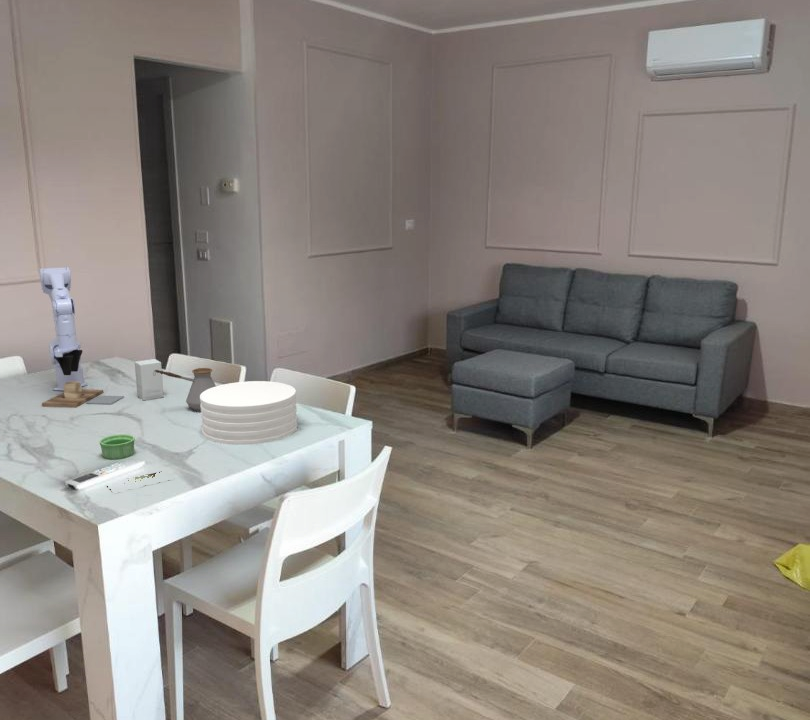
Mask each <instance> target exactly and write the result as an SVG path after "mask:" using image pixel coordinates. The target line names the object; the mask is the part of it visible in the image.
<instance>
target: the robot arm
mask: <svg viewBox="0 0 810 720" xmlns="http://www.w3.org/2000/svg"><path fill="white" fill-rule="evenodd" d="M71 277H72V276H71V270H70V268H69V267H68V266H65V267H47V268H45V267H44V268H43V267H41V268H39V280H40V285H41V290H42V292H43V294H46V295H48V296H49V299H50V301H51V308H52V314H53V322H54V331H55V336H56V337H55V338H54V339H53V340H52V341H51V342H50V343H49V358H50V364H52V365H54V366H55V373H56V381H57V382H56V384H57V387H55V388H53V389H52V391H63V392H64V386H63V384H65V383H67V382H69V381H75V382H81V388H82V387H85V386H86V385H88V384H87V383H86V382H85V376H84V368H83V366H82V364H81V363H80V362H81V361H82V357H81V356H82V354H83V350H82V349H81V348H82V346H81V342H79V341H78V340H77V331H76V322H75V315H76V306H75V301H74V298H73V297H72V296H71V294H70V291H71V288H72V278H71Z"/></svg>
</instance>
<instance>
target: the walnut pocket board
mask: <svg viewBox="0 0 810 720" xmlns="http://www.w3.org/2000/svg"><path fill="white" fill-rule="evenodd" d="M81 390H82V396H81V397H79V398H77V399H70V398H65V395H64V392H62V393H59V394H58V395H56V396H53V397H52V398H49V399H47V400H46V401H43V402H41V407H42V406H43V407H46V408H48V407H49V408H78V407H80V406H82V405H84V404H86V402H88V401H90V400H92V399H94V398H96V397H98V396H102V395H103V394H104V389H91V388H90V389H86V388H84V389H83V388H81ZM43 407H42V408H43Z"/></svg>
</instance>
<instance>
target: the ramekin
mask: <svg viewBox="0 0 810 720" xmlns="http://www.w3.org/2000/svg"><path fill="white" fill-rule="evenodd" d="M135 441H136V440H135V436H134V435H131V434H112V435H108V436H105V437H103V438H101V439H100V440H99V445H100V448H101V454H102V457H103V458H104V459H107V460H120V459H125V458H129V457H131V456H132V455H133V454H134V453H135Z"/></svg>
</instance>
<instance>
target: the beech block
mask: <svg viewBox="0 0 810 720" xmlns="http://www.w3.org/2000/svg"><path fill="white" fill-rule="evenodd" d="M63 386H64V391H63V393H64V395H65V398H70V399H77V398H79V397H81V396H82V390H81V389H82V387H81V382H75V381H69V382H67V383H65V384H63Z"/></svg>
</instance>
